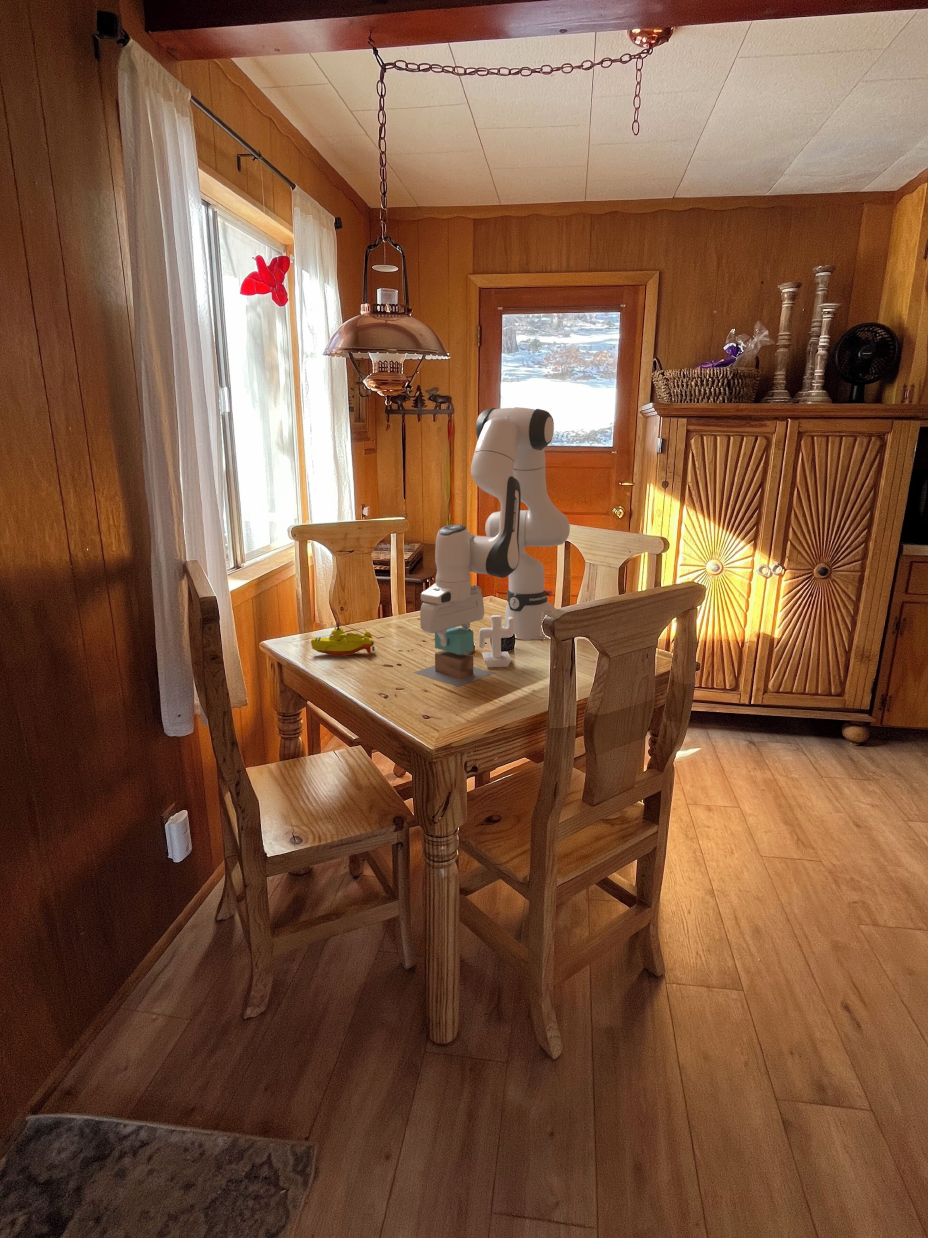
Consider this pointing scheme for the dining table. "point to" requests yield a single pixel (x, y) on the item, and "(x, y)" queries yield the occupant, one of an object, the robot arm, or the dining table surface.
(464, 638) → the teal block
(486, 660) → the figurine
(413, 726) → the dining table surface
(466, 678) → the baseplate
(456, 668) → the walnut block
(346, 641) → the toy boat
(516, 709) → the dining table surface
